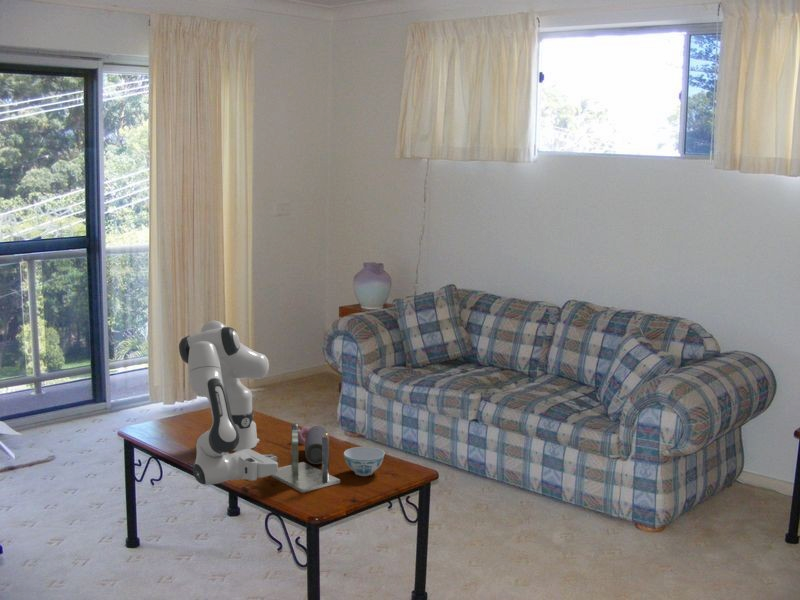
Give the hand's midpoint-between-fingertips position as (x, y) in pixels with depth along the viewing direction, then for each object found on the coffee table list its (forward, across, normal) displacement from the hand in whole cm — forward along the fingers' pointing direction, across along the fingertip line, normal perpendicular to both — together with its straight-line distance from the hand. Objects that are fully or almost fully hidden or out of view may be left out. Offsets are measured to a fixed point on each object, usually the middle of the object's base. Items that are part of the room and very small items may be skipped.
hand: (275, 457), depth 304 cm
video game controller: (+38, -37, -10) cm, 54 cm away
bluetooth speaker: (+30, -17, -10) cm, 36 cm away
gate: (+10, -3, -8) cm, 14 cm away
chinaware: (+33, +8, -10) cm, 36 cm away
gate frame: (+12, -1, -10) cm, 16 cm away
